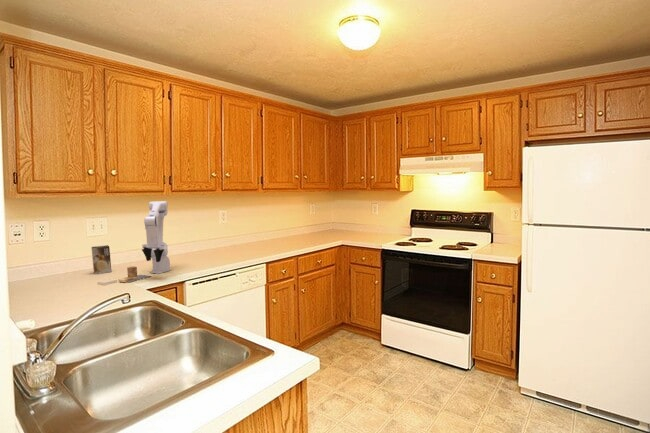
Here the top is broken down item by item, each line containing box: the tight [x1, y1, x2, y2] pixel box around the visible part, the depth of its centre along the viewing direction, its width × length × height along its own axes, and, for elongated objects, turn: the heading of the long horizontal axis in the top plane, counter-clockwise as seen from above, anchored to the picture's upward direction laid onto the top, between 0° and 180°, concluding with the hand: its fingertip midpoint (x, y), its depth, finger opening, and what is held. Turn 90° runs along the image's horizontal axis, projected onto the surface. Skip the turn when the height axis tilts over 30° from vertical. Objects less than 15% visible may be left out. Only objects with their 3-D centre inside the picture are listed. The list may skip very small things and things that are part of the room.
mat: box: [126, 274, 152, 283], centre depth 209 cm, size 14×9×1 cm, turn 155°
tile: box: [96, 278, 118, 286], centre depth 201 cm, size 2×6×7 cm
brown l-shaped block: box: [118, 265, 139, 283], centre depth 205 cm, size 9×4×7 cm, turn 155°
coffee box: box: [91, 244, 112, 275], centre depth 225 cm, size 9×6×16 cm
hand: (153, 261), depth 209 cm, fingers open, 7 cm apart
